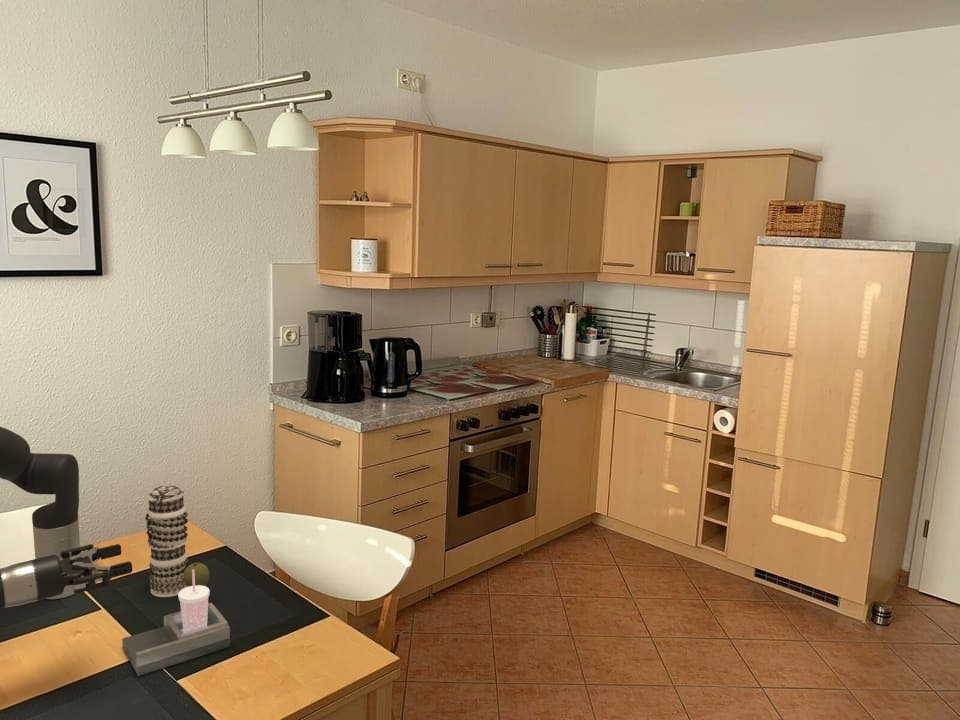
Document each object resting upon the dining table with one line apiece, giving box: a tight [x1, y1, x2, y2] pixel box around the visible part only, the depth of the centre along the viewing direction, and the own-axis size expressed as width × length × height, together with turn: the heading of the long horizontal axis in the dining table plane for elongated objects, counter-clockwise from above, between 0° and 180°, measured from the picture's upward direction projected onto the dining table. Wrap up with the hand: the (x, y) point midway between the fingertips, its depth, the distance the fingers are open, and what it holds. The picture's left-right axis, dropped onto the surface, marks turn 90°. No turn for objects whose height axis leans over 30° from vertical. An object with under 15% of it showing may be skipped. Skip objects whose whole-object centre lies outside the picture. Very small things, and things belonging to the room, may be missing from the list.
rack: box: [121, 602, 231, 677], centre depth 154 cm, size 12×18×5 cm, turn 128°
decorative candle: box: [145, 485, 189, 598], centre depth 176 cm, size 9×9×25 cm
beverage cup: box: [177, 569, 211, 633], centre depth 155 cm, size 6×6×14 cm
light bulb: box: [183, 562, 210, 587], centre depth 171 cm, size 6×6×10 cm
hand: (126, 557), depth 147 cm, fingers open, 8 cm apart
